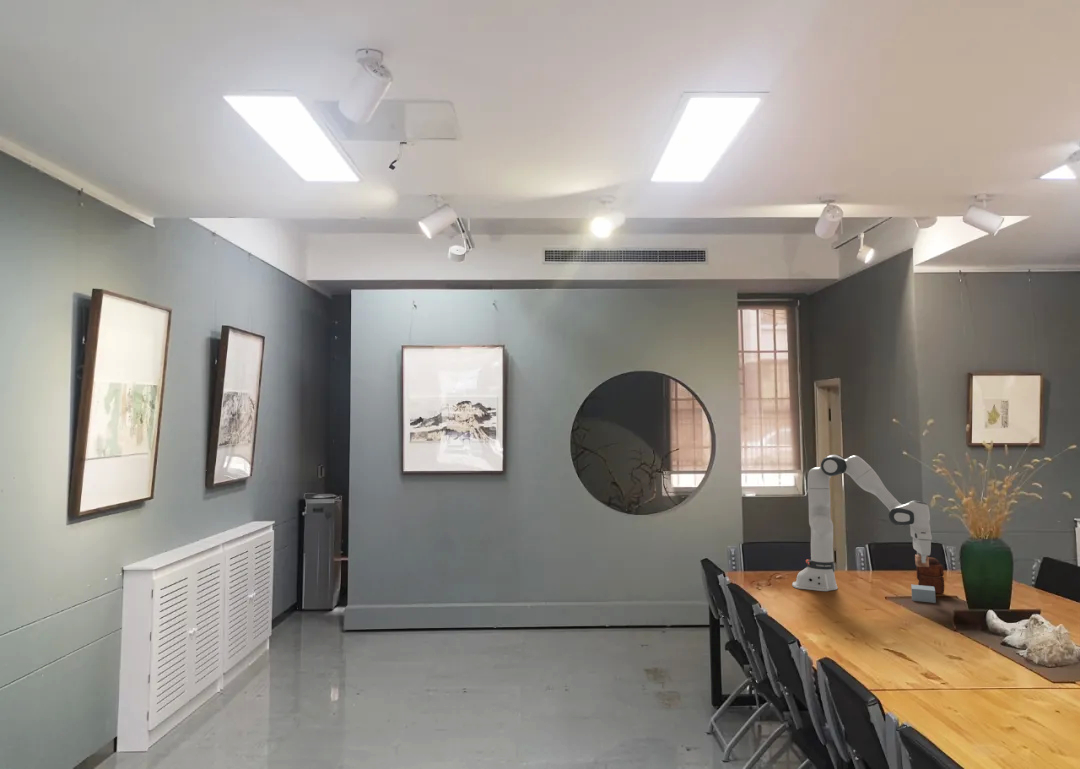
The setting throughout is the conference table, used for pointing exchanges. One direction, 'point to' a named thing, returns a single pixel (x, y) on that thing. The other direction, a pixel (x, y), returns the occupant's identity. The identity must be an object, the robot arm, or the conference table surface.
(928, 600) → the slate base block
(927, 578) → the wooden figurine
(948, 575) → the conference table surface
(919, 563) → the terracotta cube
